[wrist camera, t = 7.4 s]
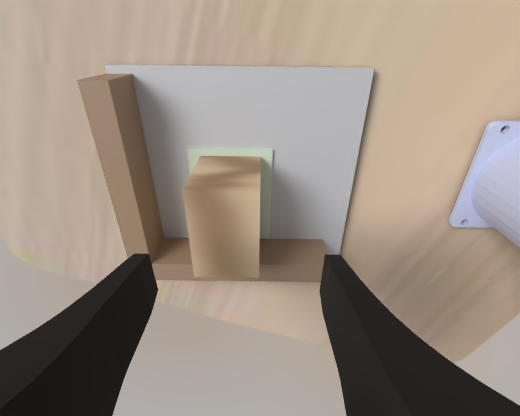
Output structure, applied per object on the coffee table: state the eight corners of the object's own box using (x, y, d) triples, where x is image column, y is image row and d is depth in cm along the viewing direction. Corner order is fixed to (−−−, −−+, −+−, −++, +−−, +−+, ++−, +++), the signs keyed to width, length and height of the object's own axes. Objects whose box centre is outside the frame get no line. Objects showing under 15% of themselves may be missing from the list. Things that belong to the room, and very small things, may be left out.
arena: (372, 67, 17) (396, 73, 14) (337, 256, 24) (348, 287, 21) (107, 64, 17) (74, 70, 14) (151, 254, 24) (135, 284, 21)
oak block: (260, 156, 19) (260, 191, 15) (259, 231, 22) (259, 277, 18) (200, 155, 19) (182, 189, 15) (207, 230, 22) (194, 276, 18)
